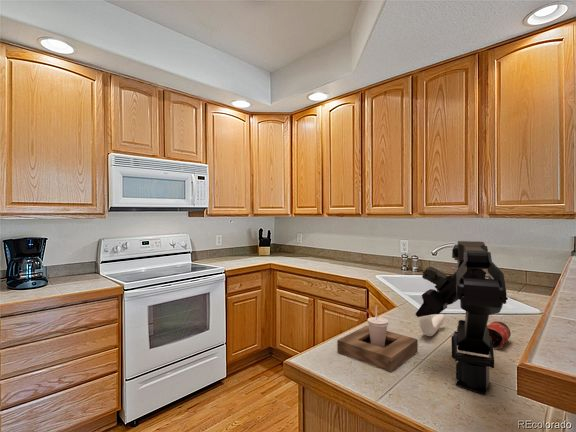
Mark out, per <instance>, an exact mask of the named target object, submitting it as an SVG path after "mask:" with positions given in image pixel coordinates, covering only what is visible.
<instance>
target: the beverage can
mask: <svg viewBox="0 0 576 432" xmlns="http://www.w3.org/2000/svg"><path fill="white" fill-rule="evenodd" d="M487 329H488V330H489V336H491V337H492V344H493V345H494V343H496V341H500V343H499V344H497V346H496V347H495V348H494V350H499V349H501V348H503V345H505V344H506V343H507V342H508V340H509V339H510V338H511V335H512V333H511V330H510V327H509V326H508V325H507V324H506V323H505V322H502V321H497V320H496V321H495V320H494V321H492V322H490V323H489V324H487Z"/></svg>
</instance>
